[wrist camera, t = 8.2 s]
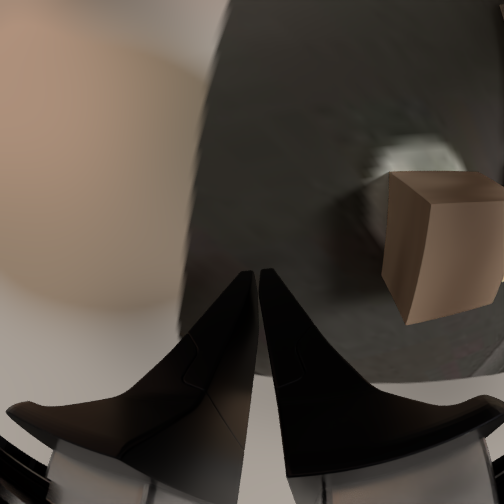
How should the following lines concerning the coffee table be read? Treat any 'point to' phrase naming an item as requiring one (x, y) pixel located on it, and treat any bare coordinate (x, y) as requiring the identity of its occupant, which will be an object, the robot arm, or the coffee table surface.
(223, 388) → the robot arm
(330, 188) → the coffee table surface
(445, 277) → the block
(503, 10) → the laid plank
